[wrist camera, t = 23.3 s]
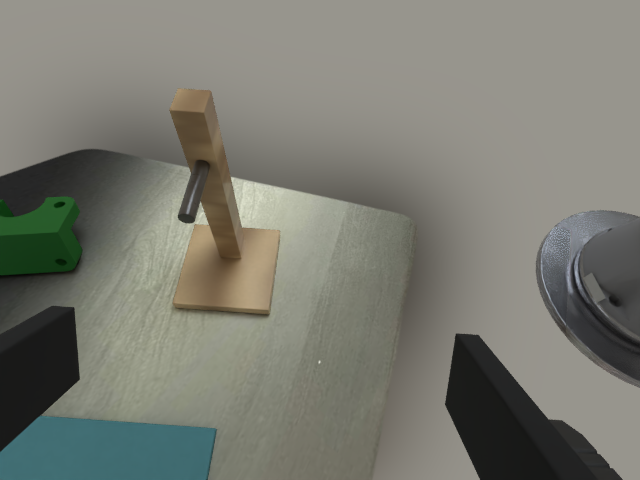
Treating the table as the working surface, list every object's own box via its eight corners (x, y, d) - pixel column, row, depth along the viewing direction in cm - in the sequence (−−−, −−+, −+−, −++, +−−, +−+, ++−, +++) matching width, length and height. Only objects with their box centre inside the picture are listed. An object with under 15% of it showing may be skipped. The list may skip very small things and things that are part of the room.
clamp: (91, 254, 49) (95, 200, 44) (74, 291, 45) (77, 236, 40) (-25, 231, 45) (-36, 168, 40) (-56, 270, 41) (-73, 205, 35)
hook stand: (280, 235, 47) (267, 78, 29) (269, 314, 41) (245, 181, 24) (196, 229, 47) (132, 68, 29) (175, 307, 41) (79, 169, 24)
